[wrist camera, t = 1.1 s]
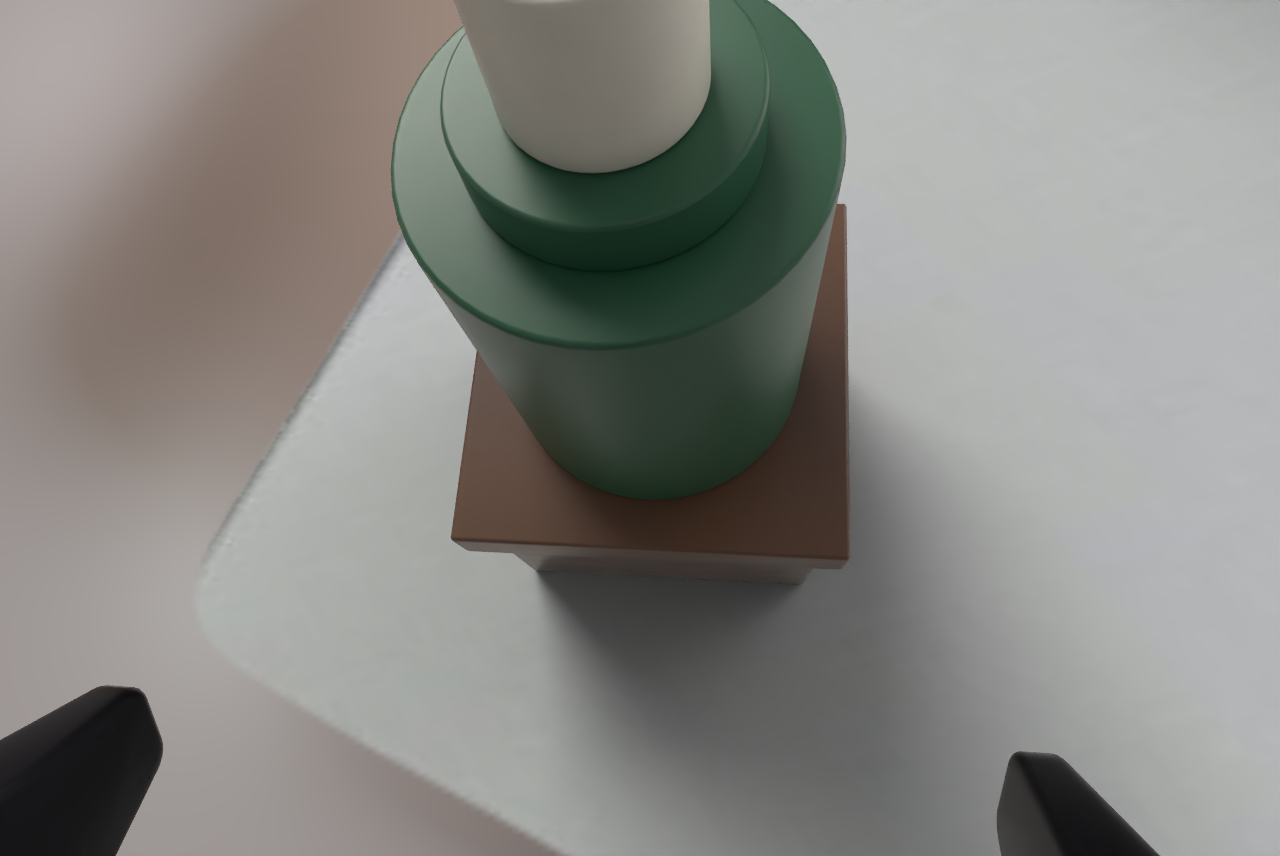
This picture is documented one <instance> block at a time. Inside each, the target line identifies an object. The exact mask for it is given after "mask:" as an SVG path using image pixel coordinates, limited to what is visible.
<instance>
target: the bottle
mask: <svg viewBox="0 0 1280 856" xmlns="http://www.w3.org/2000/svg"><path fill="white" fill-rule="evenodd" d="M454 3H455V5H456V8H457V10H458V13H459V16H460V18H461V21H462V23H463V26H462V27H461V28H460V29H459V30H458V31H457V32H455V33H454V34H453V35H452V36H451V37H450V38H449V40H447V42H446V43H445V44H444V45H443V46H442V47H441V48H440V49H439V50H438V51H437V53H435V55H434V56H433V58H432V59H431V60H430V62H429V63H428V64H427V66H426V67H425V68H424V70H423V71H422V73H421V74H420V76H419V78H418V79H417V81H416V83H415V85H414V87H413V89H412V90H411V92H410V94H409V96H408V98H407V100H406V103H405V106H404V108H403V111H402V113H401V116H400V118H399V122H398V126H397V130H396V134H395V138H394V143H393V152H392V163H391V182H392V197H393V201H394V205H395V210H396V215H397V220H398V222H399V225H400V227H401V230H402V233H403V235H404V238H405V240H406V243H407V245H408V247H409V248H410V250H411V252H412V253H413V255H414V257H415V259H416V260H417V262H418V264H419V265H420V267H421V268H422V270H423V271H424V273H425V274H426V276H427V277H428V279H429V280H430V282H431V283H432V285H433V286H434V288H435V289H436V291H437V292H438V294H439V295H440V297H441V298H442V299H443V301H444V302H445V304H446V305H447V307H448V308H449V310H450V311H451V313H452V314H453V316H454V317H455V319H456V320H457V322H458V323H459V325H460V326H461V328H462V329H463V331H464V332H465V334H466V335H467V336H468V338H469V339H470V341H471V342H472V344H473V345H474V347H475V348H476V350H477V351H478V353H479V354H480V356H481V357H482V359H483V360H484V362H485V363H486V365H487V366H488V368H489V369H490V371H491V372H492V373H493V375H494V376H495V378H496V379H497V381H498V382H499V384H500V385H501V387H502V388H503V390H504V391H505V393H506V394H507V396H508V397H509V399H510V400H511V402H512V403H513V405H514V406H515V408H516V409H517V410H518V412H519V413H520V415H521V416H522V418H523V419H524V421H525V422H526V424H527V425H528V427H529V428H530V430H531V431H532V433H533V434H534V436H535V437H536V439H537V440H538V442H539V443H540V444H541V445H542V447H543V448H544V449H545V450H546V452H547V453H548V454H549V455H550V456H551V457H552V458H553V459H554V460H555V461H556V462H557V463H558V464H559V465H560V466H561V467H562V468H563V469H565V470H566V471H568V472H569V473H570V474H572V475H573V476H575V477H576V478H577V479H579V480H581V481H583V482H585V483H587V484H589V485H591V486H593V487H594V488H597V489H600V490H603V491H605V492H608V493H611V494H615V495H619V496H624V497H628V498H635V499H647V500H659V499H673V498H679V497H685V496H690V495H693V494H697V493H700V492H703V491H707V490H709V489H712V488H714V487H716V486H718V485H720V484H723V483H725V482H727V481H728V480H730V479H732V478H733V477H735V476H736V475H738V474H740V473H741V472H743V471H744V470H745V469H747V468H748V467H749V466H750V465H751V464H753V463H754V462H755V461H756V460H758V458H759V457H760V456H761V455H762V454H763V453H764V452H765V451H766V450H767V449H768V448H769V447H770V446H771V444H772V443H773V441H774V440H775V439H776V437H777V436H778V434H779V433H780V432H781V430H782V428H783V426H784V424H785V422H786V421H787V419H788V417H789V415H790V412H791V409H792V406H793V404H794V401H795V398H796V394H797V389H798V384H799V380H800V375H801V370H802V365H803V361H804V356H805V351H806V347H807V342H808V337H809V332H810V328H811V323H812V318H813V313H814V309H815V304H816V299H817V295H818V290H819V285H820V280H821V276H822V271H823V266H824V262H825V257H826V252H827V247H828V243H829V238H830V233H831V229H832V224H833V219H834V214H835V210H836V205H837V200H838V196H839V191H840V186H841V181H842V176H843V171H844V167H845V157H846V129H845V120H844V111H843V108H842V104H841V101H840V97H839V94H838V90H837V87H836V84H835V82H834V80H833V78H832V76H831V74H830V71H829V69H828V67H827V65H826V63H825V61H824V59H823V58H822V56H821V55H820V53H819V52H818V50H817V49H816V47H815V46H814V44H813V43H812V41H811V40H810V39H809V38H808V37H807V35H806V34H805V33H804V32H803V31H802V30H801V29H800V28H799V26H798V25H797V24H796V23H795V22H794V21H793V20H792V19H790V18H789V17H788V16H787V15H786V14H785V13H783V12H782V11H781V10H780V9H779V8H778V7H776V6H775V5H774V4H772V3H771V2H769V1H767V0H454Z"/></svg>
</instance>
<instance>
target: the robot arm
mask: <svg viewBox="0 0 1280 856" xmlns="http://www.w3.org/2000/svg"><path fill="white" fill-rule="evenodd" d="M162 754H163V742H162V738H161V735H160V733H159V730H158V727H157V725H156V722H155V719H154V716H153V714H152V711H151V708H150V706H149V703H148V700H147V698H146V696H145V694H144V693H143V692H142V691H141V690H140V689H138V688H135V687H123V686H122V687H121V686H108V685H107V686H100V687H97V688H95V689H93V690H91V691H89V692H87V693H85V694H84V695H82V696H80V697H78V698H77V699H74V700H73V701H71V702H69V703H67V704H65V705H63V706H62V707H60V708H58V709H56V710H54V711H53V712H51V713H49V714H47V715H45V716H43V717H42V718H40V719H38V720H36V721H34V722H32V723H31V724H29V725H27V726H25V727H23V728H21V729H20V730H18V731H16V732H14V733H12V734H10V735H9V736H7V737H5V738H3V739H1V740H0V856H116V854H117V852H118V850H119V848H120V846H121V844H122V842H123V840H124V837H125V835H126V833H127V831H128V829H129V827H130V825H131V823H132V821H133V819H134V817H135V815H136V813H137V811H138V809H139V807H140V805H141V803H142V800H143V799H144V796H145V794H146V792H147V790H148V788H149V786H150V784H151V782H152V780H153V778H154V776H155V774H156V772H157V770H158V768H159V765H160V762H161V758H162ZM997 833H998V839H999V845H1000V851H1001V856H1160V855H1159V854H1158V853H1157V852H1156V851H1155V850H1154V849H1153V848H1152V847H1151V846H1150V845H1149V844H1148V843H1147V842H1146V841H1145V840H1144V839H1143V838H1142V837H1141V836H1140V835H1139V834H1138V833H1137V832H1136V831H1135V830H1134V829H1133V828H1132V827H1131V826H1130V825H1129V824H1128V823H1127V822H1126V821H1125V820H1124V819H1123V818H1122V817H1121V816H1120V815H1119V814H1118V813H1117V812H1116V811H1115V810H1114V809H1113V808H1112V807H1111V806H1110V805H1109V804H1108V803H1107V802H1106V801H1105V800H1104V799H1103V798H1102V797H1101V796H1100V795H1099V794H1098V793H1097V792H1096V791H1095V790H1094V789H1093V788H1092V787H1091V786H1090V785H1089V784H1088V783H1087V782H1086V781H1085V780H1084V779H1083V778H1082V777H1081V776H1080V775H1079V774H1078V773H1077V772H1076V771H1075V770H1074V769H1073V768H1072V767H1071V766H1070V765H1069V764H1068V763H1067V762H1066V761H1065V760H1064V759H1062V758H1061V757H1059V756H1058V755H1055V754H1050V753H1036V752H1022V751H1020V752H1016V753H1014V754H1013V755H1012V756H1011V758H1010V760H1009V763H1008V767H1007V771H1006V775H1005V780H1004V784H1003V788H1002V792H1001V796H1000V801H999V805H998V810H997Z"/></svg>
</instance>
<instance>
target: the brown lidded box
mask: <svg viewBox="0 0 1280 856" xmlns="http://www.w3.org/2000/svg"><path fill="white" fill-rule="evenodd" d="M451 539H452V541H454V542H455V543H457V544H458V545H460V546H462V547H463V548H465V549H466V550H468V551H482V552H502V553H514V554H515V555H516V556H518V557H519V558H520V559H521V560H523V561H524V562H525V563H527V564H528V565H529V566H530V567H532V568H533V569H534V570H541V571H560V572H579V573H598V574H617V575H636V576H655V577H674V578H693V579H712V580H731V581H750V582H769V583H788V584H803V582H804V581H805V579H806V577H807V575H808V573H809V572H810V570H811V568H818V569H838V570H839V569H842V568H843V567H844V565H845V564H846V563H847V562H848V560H849V558H850V490H849V398H848V306H847V213H846V205H845V204H837V205H836V210H835V214H834V219H833V224H832V229H831V233H830V238H829V243H828V247H827V252H826V257H825V262H824V266H823V271H822V276H821V280H820V285H819V290H818V295H817V299H816V304H815V309H814V313H813V318H812V323H811V328H810V332H809V337H808V342H807V347H806V351H805V356H804V361H803V365H802V370H801V375H800V380H799V384H798V389H797V394H796V398H795V401H794V404H793V406H792V409H791V412H790V415H789V417H788V419H787V421H786V422H785V424H784V426H783V428H782V430H781V432H780V433H779V434H778V436H777V437H776V439H775V440H774V441H773V443H772V444H771V446H770V447H769V448H768V449H767V450H766V451H765V452H764V453H763V454H762V455H761V456H760V457H759V458H758V460H756V461H755V462H754V463H753V464H751V465H750V466H749V467H748V468H747V469H745V470H744V471H743V472H741V473H740V474H738V475H736V476H735V477H733V478H732V479H730V480H728V481H727V482H725V483H723V484H720V485H718V486H716V487H714V488H712V489H709V490H707V491H703V492H700V493H697V494H693V495H690V496H685V497H679V498H673V499H659V500H647V499H635V498H628V497H624V496H619V495H615V494H611V493H608V492H605V491H603V490H600V489H597V488H594V487H593V486H591V485H589V484H587V483H585V482H583V481H581V480H579V479H577V478H576V477H575V476H573V475H572V474H570V473H569V472H568V471H566V470H565V469H563V468H562V467H561V466H560V465H559V464H558V463H557V462H556V461H555V460H554V459H553V458H552V457H551V456H550V455H549V454H548V453H547V452H546V450H545V449H544V448H543V447H542V445H541V444H540V443H539V442H538V440H537V439H536V437H535V436H534V434H533V433H532V431H531V430H530V428H529V427H528V425H527V424H526V422H525V421H524V419H523V418H522V416H521V415H520V413H519V412H518V410H517V409H516V408H515V406H514V405H513V403H512V402H511V400H510V399H509V397H508V396H507V394H506V393H505V391H504V390H503V388H502V387H501V385H500V384H499V382H498V381H497V379H496V378H495V376H494V375H493V373H492V372H491V371H490V369H489V368H488V366H487V365H486V363H485V362H484V360H483V359H482V357H481V356H480V354H479V353H478V351H477V354H476V361H475V368H474V375H473V382H472V389H471V397H470V404H469V411H468V418H467V425H466V433H465V440H464V447H463V454H462V461H461V468H460V476H459V483H458V490H457V497H456V504H455V512H454V519H453V526H452V533H451Z"/></svg>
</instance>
